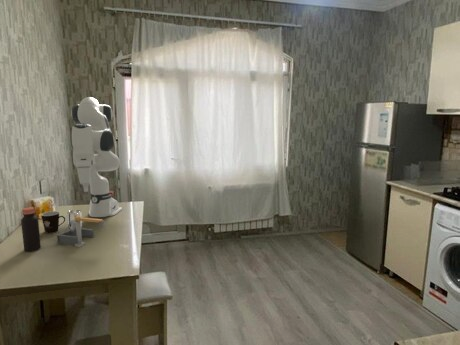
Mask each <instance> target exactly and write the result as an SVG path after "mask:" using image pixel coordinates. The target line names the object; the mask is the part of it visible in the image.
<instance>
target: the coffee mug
mask: <svg viewBox="0 0 460 345" xmlns="http://www.w3.org/2000/svg"><path fill="white" fill-rule="evenodd" d="M40 217H41V220H42V224H43V228H44V233H45V234H54V233H56V232H58V231H59V227H60V226H61V225H63V224H64V223H65V221H66V217H65V216H64V215H60V211H58V210H57V211H56V210H55V211H54V210H53V211H46V212H45V211H44V212H43V213H41V214H40ZM60 218H63V221H62V222H61V223H60Z"/></svg>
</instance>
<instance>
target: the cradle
mask: <svg viewBox="0 0 460 345" xmlns="http://www.w3.org/2000/svg"><path fill="white" fill-rule="evenodd" d="M76 230H77V236H70V231H69V229H68V230H65V231H63V232H61V233H59V234H57V235H56V237H57V238H56V239H57V244H64V245H71V246H72V245H73V246H74V247H81V248H82V246H84V245H86V242H84V241H83V239H82V237H83V238H84V237H86V238H94V237H95V230H94V229H93V228H83V227H82V235H81V222H80V221H76Z"/></svg>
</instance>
